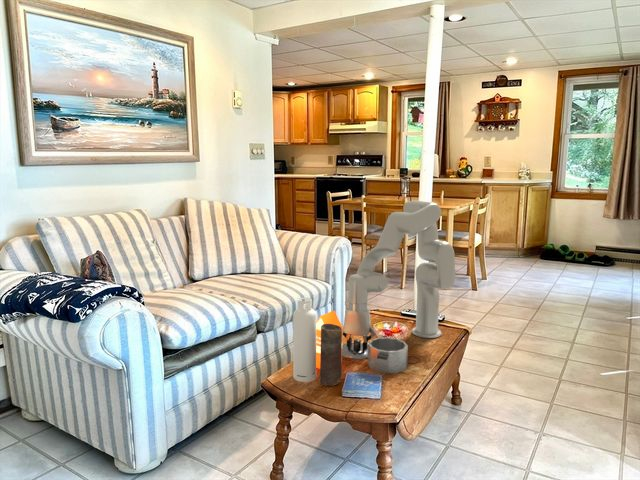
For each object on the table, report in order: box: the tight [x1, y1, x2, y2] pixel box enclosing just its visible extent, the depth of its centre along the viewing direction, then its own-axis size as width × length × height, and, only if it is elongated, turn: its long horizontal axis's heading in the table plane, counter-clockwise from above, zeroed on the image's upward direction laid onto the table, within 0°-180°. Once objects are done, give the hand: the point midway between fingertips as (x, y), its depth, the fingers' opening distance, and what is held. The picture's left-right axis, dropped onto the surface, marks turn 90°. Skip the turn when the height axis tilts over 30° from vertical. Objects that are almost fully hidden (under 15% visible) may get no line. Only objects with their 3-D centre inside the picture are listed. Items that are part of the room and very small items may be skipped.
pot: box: [367, 336, 409, 374], centre depth 176 cm, size 19×14×8 cm
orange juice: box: [316, 310, 343, 370], centre depth 175 cm, size 8×9×20 cm
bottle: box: [292, 297, 318, 383], centre depth 164 cm, size 8×8×28 cm
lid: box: [342, 338, 368, 361], centre depth 188 cm, size 15×15×5 cm
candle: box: [319, 324, 343, 386], centre depth 161 cm, size 8×7×20 cm
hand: (357, 349), depth 189 cm, fingers open, 5 cm apart
